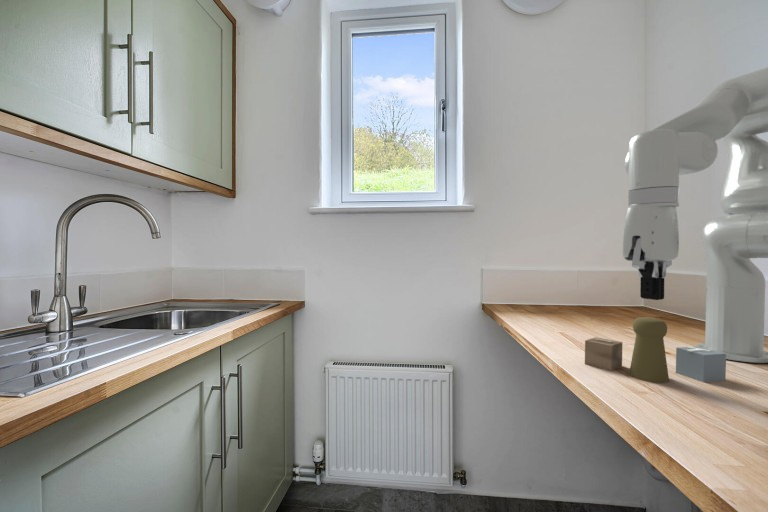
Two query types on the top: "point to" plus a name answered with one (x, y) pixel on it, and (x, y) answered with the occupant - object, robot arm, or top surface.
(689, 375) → the slate numeral block
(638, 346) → the cork
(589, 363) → the walnut numeral block
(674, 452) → the top surface
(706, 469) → the top surface
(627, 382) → the top surface
